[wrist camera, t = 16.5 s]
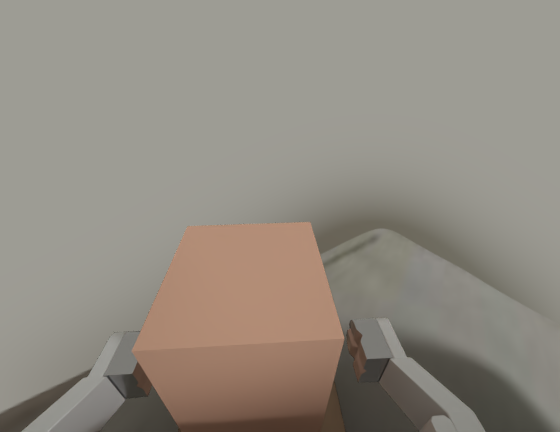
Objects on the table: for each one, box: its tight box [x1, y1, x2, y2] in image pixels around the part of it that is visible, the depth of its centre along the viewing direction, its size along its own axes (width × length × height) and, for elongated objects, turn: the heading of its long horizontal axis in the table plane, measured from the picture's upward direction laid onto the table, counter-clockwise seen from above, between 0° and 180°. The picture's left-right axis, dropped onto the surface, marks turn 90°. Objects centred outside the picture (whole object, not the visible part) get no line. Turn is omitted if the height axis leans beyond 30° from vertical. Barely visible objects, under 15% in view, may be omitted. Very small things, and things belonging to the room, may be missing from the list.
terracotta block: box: [132, 222, 345, 432], centre depth 11 cm, size 5×5×13 cm
